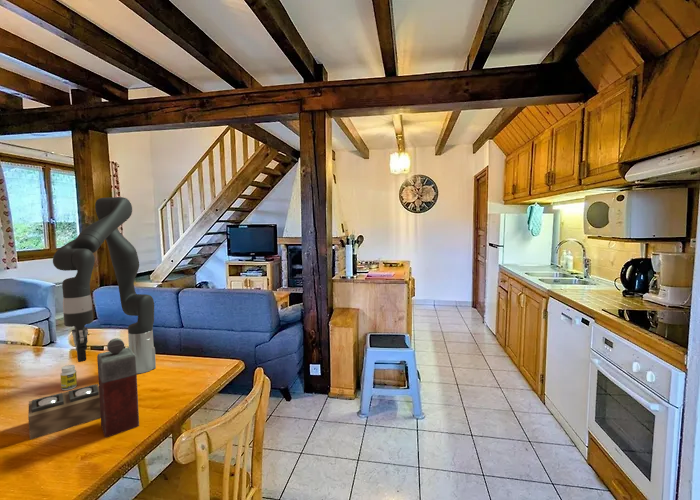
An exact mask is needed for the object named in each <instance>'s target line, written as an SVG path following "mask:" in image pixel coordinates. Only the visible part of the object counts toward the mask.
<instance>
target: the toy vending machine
mask: <svg viewBox="0 0 700 500" xmlns="http://www.w3.org/2000/svg"><path fill="white" fill-rule="evenodd" d="M106 345H107V346H106V347H107V350H108V351H105V352H100V353H98V354H97V357H96V358H97V359H96V361H97V374H98V375H97V376H98V386H99V397H100V414H101V418H100V426H101V429H102V432H103V435H104V438H109V437H111V436H114V435H117V434H121V433H123V432H126V431H128V430H132V429H134V428H138V427H140V416H139V396H138V394H139V393H138V376H137V375H138V374H137V371H136V356H135V355H134V353H133V352H132V350H131V349H130V348H129V347H125V342H124V341H123V340H122V339H121V338H118V337H117V338H112V339H111V340H108V342H107V344H106Z"/></svg>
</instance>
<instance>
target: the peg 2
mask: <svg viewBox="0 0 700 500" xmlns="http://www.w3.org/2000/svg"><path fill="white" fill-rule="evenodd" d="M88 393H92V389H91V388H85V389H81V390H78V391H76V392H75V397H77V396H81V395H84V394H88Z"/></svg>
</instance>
